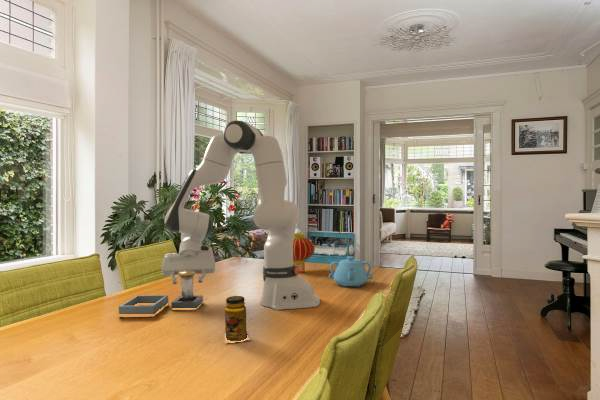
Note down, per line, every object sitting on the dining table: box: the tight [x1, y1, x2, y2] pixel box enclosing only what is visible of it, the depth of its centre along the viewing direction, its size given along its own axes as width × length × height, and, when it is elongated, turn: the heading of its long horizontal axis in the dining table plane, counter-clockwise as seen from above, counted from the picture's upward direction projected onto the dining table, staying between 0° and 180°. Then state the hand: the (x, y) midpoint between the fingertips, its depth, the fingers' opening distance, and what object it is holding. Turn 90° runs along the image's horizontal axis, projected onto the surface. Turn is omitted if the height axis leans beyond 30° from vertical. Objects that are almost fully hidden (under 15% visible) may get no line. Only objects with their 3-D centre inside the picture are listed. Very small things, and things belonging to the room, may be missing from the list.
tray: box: [118, 294, 169, 315], centre depth 139 cm, size 12×14×4 cm
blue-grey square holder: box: [170, 294, 204, 309], centre depth 144 cm, size 9×9×3 cm
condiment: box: [224, 295, 249, 341], centre depth 112 cm, size 7×8×12 cm
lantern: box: [293, 232, 316, 274], centre depth 202 cm, size 17×17×30 cm
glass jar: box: [178, 270, 196, 301], centre depth 144 cm, size 6×6×13 cm
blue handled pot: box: [328, 255, 373, 288], centre depth 172 cm, size 20×20×13 cm
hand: (187, 282), depth 146 cm, fingers open, 8 cm apart
